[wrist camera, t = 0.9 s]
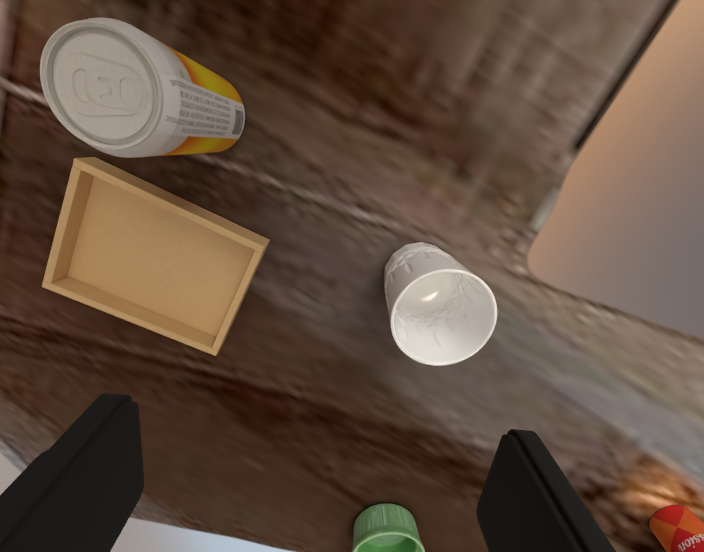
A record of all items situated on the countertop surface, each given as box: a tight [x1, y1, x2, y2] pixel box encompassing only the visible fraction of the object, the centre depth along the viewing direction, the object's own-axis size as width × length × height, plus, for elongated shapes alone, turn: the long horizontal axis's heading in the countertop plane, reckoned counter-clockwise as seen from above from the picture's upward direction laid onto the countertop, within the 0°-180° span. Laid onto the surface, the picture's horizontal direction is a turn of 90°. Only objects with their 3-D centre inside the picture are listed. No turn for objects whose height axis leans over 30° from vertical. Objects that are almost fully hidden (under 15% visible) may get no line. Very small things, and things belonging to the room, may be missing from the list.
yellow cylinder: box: [40, 18, 245, 158], centre depth 24 cm, size 6×6×15 cm
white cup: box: [384, 242, 497, 366], centre depth 31 cm, size 8×8×10 cm
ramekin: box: [352, 504, 425, 552], centre depth 46 cm, size 9×9×4 cm
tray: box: [42, 157, 270, 356], centre depth 34 cm, size 12×16×3 cm
